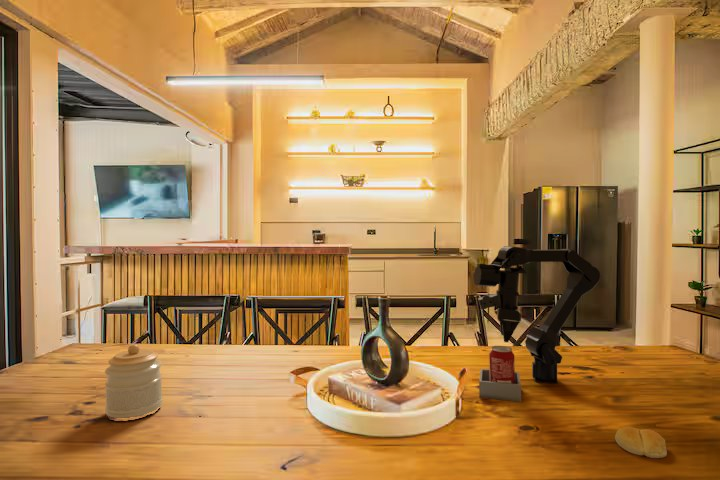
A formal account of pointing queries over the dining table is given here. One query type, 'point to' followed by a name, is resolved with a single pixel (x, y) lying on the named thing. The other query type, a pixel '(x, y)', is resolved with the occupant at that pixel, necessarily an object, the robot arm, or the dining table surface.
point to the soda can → (501, 365)
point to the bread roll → (641, 442)
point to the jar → (133, 383)
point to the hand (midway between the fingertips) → (504, 338)
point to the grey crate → (499, 388)
